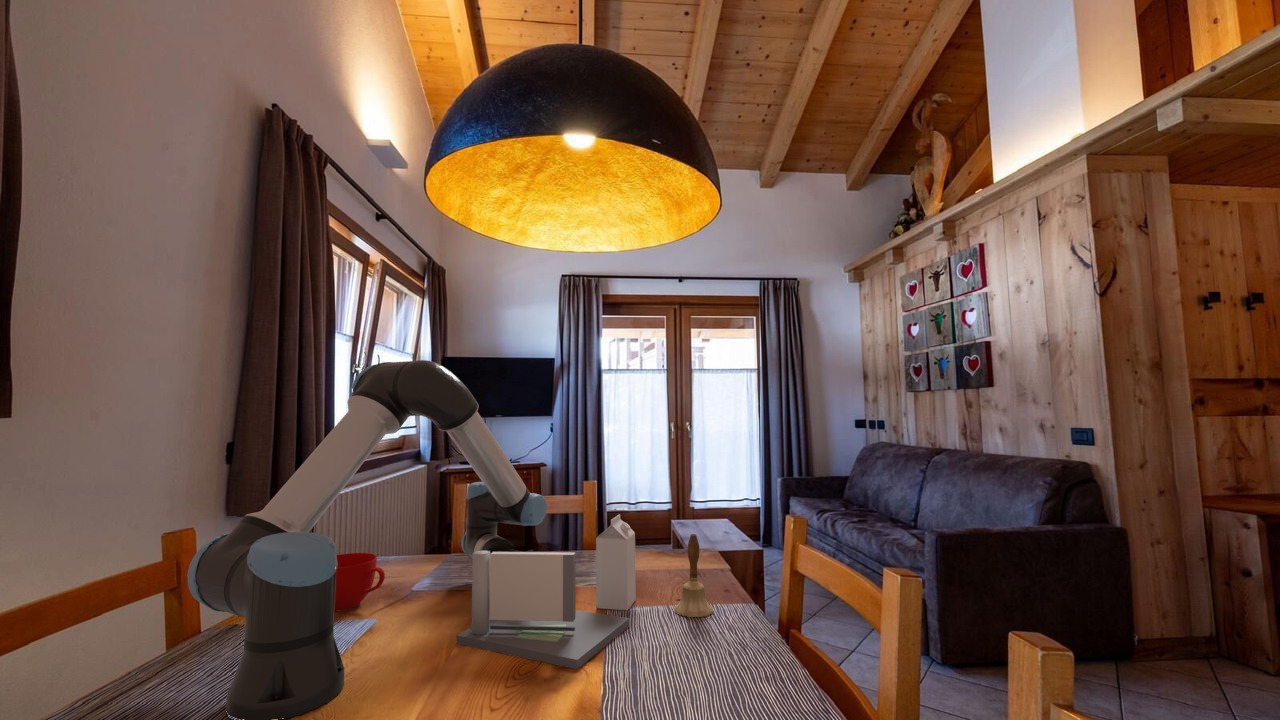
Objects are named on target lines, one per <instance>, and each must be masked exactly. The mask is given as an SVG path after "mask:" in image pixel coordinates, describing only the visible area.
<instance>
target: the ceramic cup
mask: <svg viewBox="0 0 1280 720" xmlns="http://www.w3.org/2000/svg"><path fill="white" fill-rule="evenodd" d="M377 560H378V556H377V554H374V553H369V552H350V553H349V552H348V553H341V554H337V562H338V566H337V569H336V586H335V609H334V612H338V611H337V610H343V611H346V609H348V610H351V609H350V608H352V609H354V608H353V607H355V608H357V607H358V606H359V605H361V603H362V601H363V600H364V599H365V598H366V597H367V595H368V594H369V593H372V592H374V591H375V590H377V589H379V588H380V587H381V586H382V585H383V583H384V580H385V577H386V576H385V575H386V574H385V571H384V569H383V568H382V567H377V562H378V561H377ZM376 573H378V575H379V580H378V581H377V583H376V585H375V586H373V585H374V584H373V583H374V580H375V577H376V576H375V575H376ZM356 606H357V607H356Z"/></svg>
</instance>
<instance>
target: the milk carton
mask: <svg viewBox="0 0 1280 720" xmlns="http://www.w3.org/2000/svg"><path fill="white" fill-rule="evenodd" d="M595 566H596V568H595V569H596V570H595V576H596V577H595V587H596V590H595V593H596V595H595V600H596V603H595V606H596V609H602V610H615V611H629V610H630V609H631V607H632V606H633V604H634V603H635V602H636V600H637V599H636V598H637V597H636V532H635V531H634V530H633V529H632V528H631V526H630V525H629V524H628V523H627V522H625V521H623V520H622V519H621V514H620V513H619V514H618V515H616V516H615V517H613V518H612V519H610V525H609V526H608V527H607V528H606V529H605V530H603V532H601V533H600V534H599V535H597V537H596V538H595ZM628 609H629V610H628Z"/></svg>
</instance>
